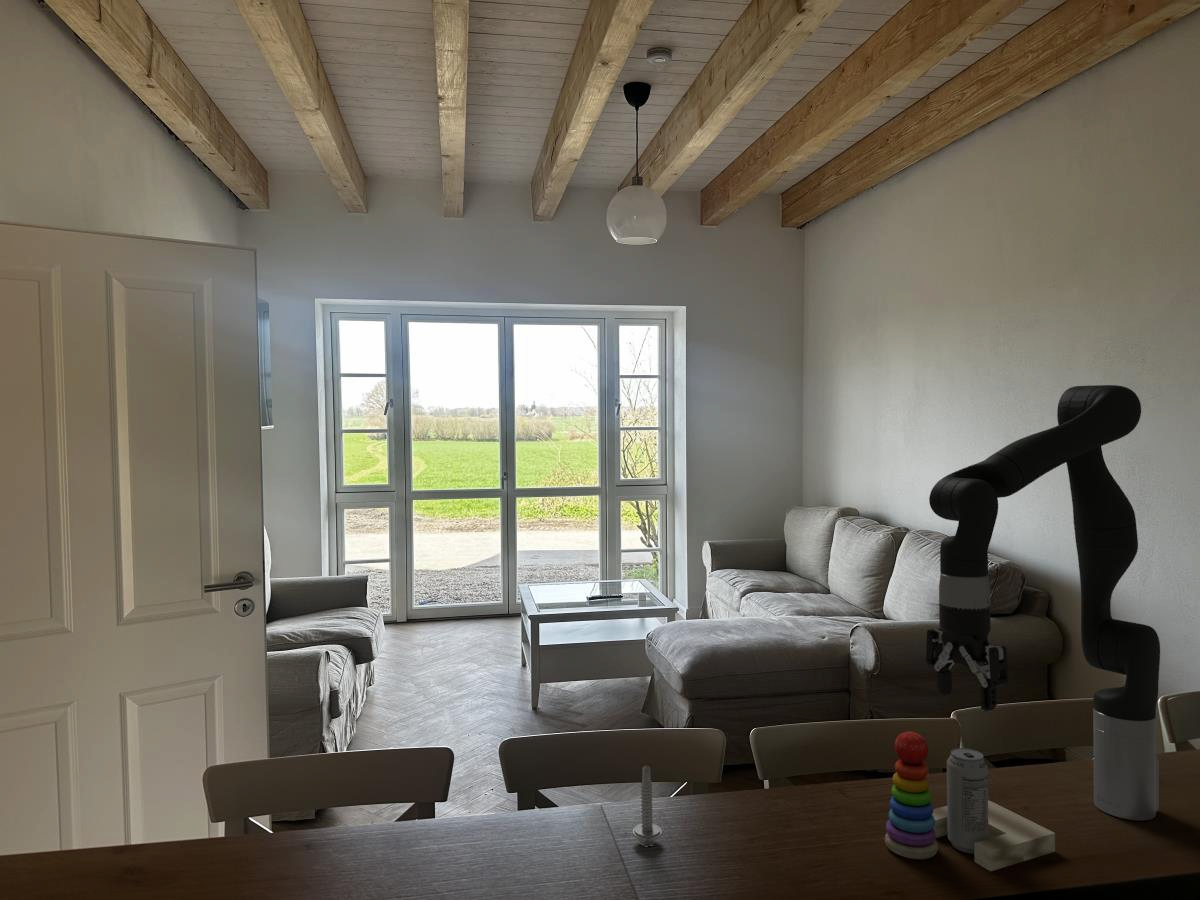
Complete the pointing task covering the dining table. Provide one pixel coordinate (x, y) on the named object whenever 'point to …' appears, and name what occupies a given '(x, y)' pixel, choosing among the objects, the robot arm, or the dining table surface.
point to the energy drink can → (967, 799)
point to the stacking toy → (911, 801)
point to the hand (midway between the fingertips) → (965, 701)
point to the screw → (646, 813)
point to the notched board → (1004, 838)
